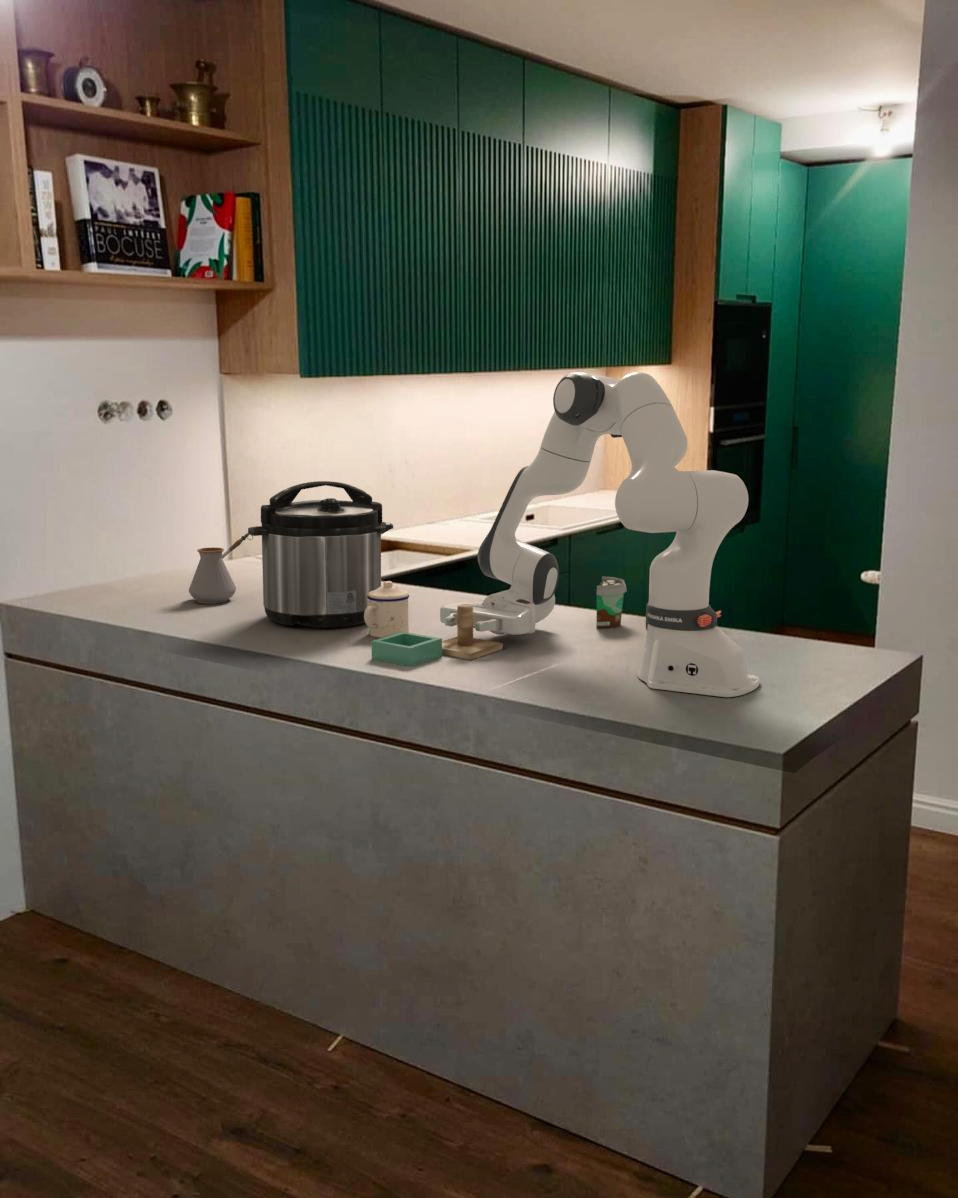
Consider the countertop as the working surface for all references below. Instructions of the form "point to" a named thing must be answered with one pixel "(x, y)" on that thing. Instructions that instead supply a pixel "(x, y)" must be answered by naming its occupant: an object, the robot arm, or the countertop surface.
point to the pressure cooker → (320, 556)
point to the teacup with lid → (387, 611)
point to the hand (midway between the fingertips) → (462, 624)
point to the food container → (610, 602)
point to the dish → (406, 648)
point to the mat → (475, 658)
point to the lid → (467, 638)
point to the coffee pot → (213, 576)
